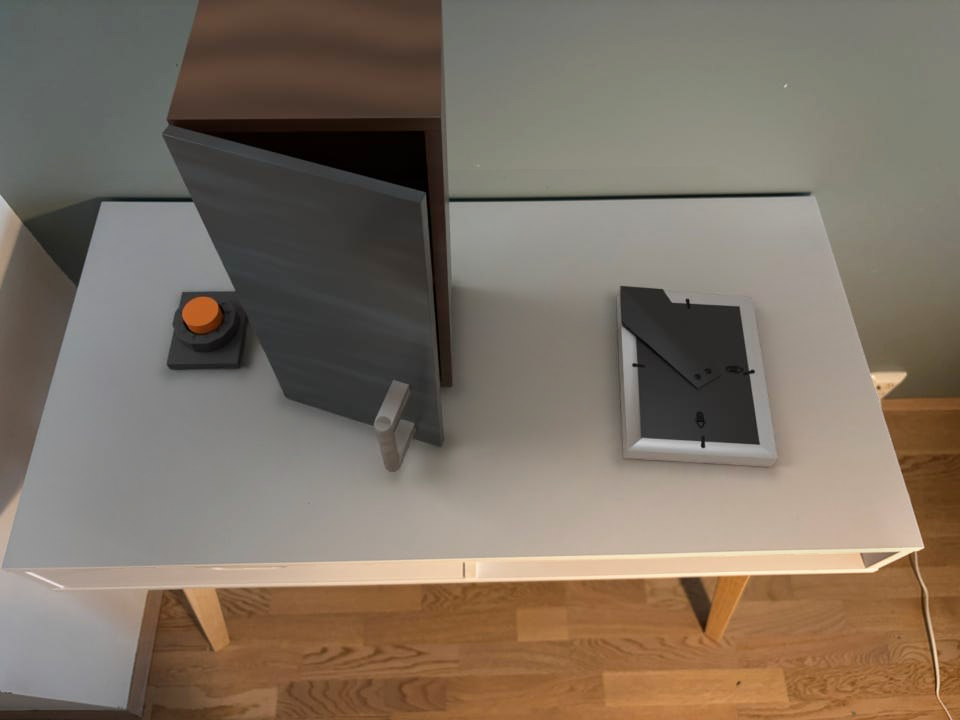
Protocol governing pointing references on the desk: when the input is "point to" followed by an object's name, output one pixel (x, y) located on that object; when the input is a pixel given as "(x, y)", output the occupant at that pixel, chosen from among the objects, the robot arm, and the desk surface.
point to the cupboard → (331, 99)
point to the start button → (202, 315)
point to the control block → (209, 336)
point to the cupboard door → (326, 281)
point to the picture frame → (692, 379)
